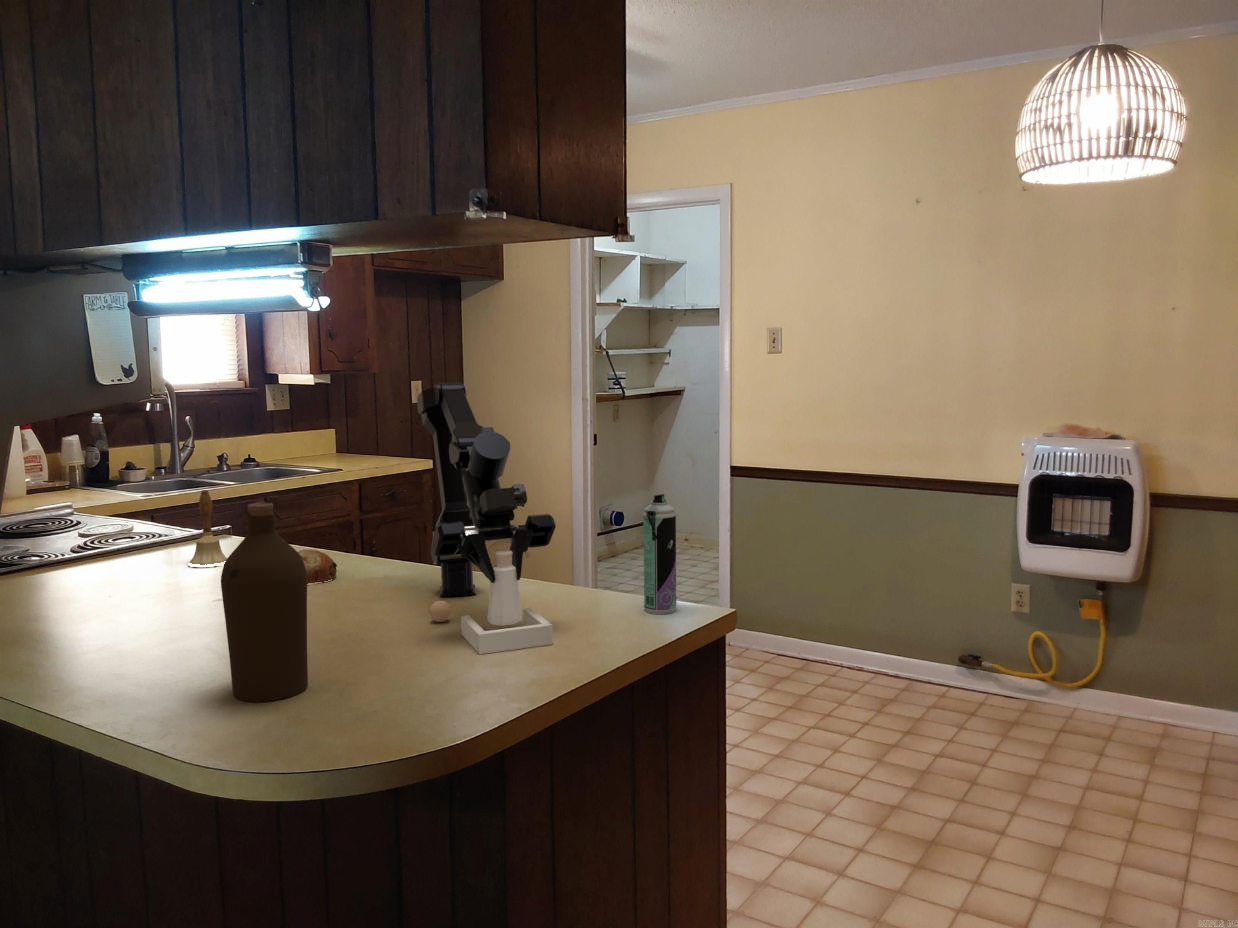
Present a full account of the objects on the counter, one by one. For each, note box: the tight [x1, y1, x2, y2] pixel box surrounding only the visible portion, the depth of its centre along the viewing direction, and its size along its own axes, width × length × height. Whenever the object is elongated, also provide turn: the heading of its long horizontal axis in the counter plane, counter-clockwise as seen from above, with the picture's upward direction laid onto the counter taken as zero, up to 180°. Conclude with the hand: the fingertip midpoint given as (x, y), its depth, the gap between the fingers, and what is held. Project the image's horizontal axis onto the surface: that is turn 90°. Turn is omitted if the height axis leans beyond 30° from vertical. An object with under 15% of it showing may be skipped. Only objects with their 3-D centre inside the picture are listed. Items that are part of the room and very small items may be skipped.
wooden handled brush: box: [189, 489, 228, 565], centre depth 204 cm, size 8×8×16 cm
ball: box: [429, 600, 452, 623], centre depth 159 cm, size 4×4×4 cm
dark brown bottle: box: [220, 501, 309, 703], centre depth 126 cm, size 11×11×25 cm
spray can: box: [642, 493, 677, 615], centre depth 163 cm, size 6×6×20 cm
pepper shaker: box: [487, 549, 523, 626], centre depth 148 cm, size 5×5×11 cm
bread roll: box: [297, 548, 338, 584], centre depth 189 cm, size 10×10×8 cm
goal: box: [460, 607, 554, 655], centre depth 149 cm, size 11×11×3 cm
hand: (506, 580), depth 147 cm, fingers closed on pepper shaker, 4 cm apart
